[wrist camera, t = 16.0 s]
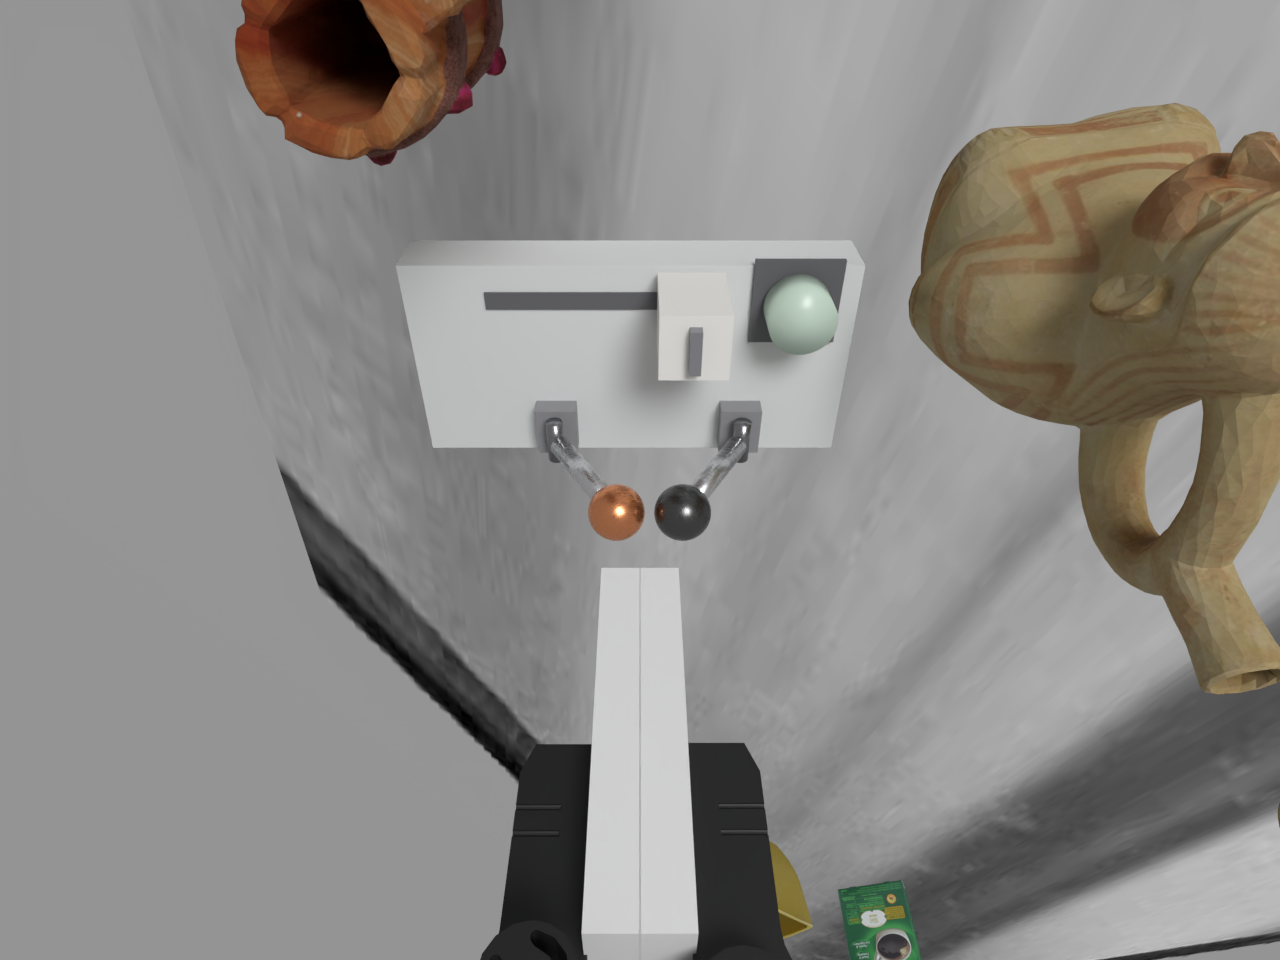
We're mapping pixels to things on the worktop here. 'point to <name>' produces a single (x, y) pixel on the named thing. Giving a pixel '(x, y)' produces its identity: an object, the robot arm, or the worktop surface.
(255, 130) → the worktop surface
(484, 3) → the mug
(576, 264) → the panel
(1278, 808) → the bread
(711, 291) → the fader knob
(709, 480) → the toggle black
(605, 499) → the toggle orange
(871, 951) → the coffee box
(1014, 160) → the ceramic vessel
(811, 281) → the button green
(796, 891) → the flower pot
